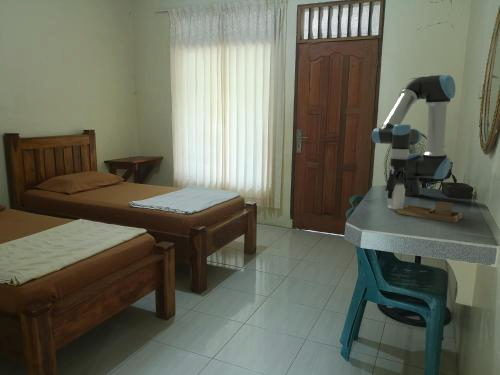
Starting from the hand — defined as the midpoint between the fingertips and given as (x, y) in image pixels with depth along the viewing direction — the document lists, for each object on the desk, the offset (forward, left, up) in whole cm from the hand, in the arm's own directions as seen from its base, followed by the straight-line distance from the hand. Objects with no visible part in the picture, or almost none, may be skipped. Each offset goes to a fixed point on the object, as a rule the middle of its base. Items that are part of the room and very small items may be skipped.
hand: (395, 203), depth 182 cm
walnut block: (+6, +23, -2) cm, 23 cm away
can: (0, 0, -3) cm, 3 cm away
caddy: (+6, +17, -3) cm, 18 cm away
